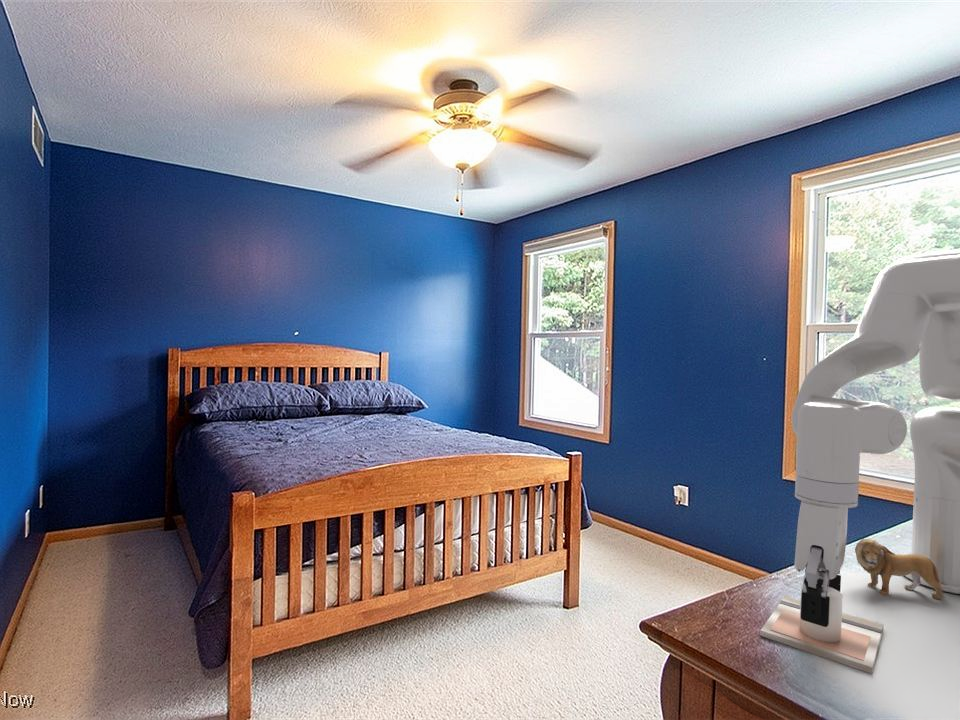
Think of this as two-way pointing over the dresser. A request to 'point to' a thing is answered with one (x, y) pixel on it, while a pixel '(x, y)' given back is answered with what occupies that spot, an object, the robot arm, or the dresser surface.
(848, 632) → the board
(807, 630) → the white rounded cylinder
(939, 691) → the dresser surface
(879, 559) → the lion figurine
